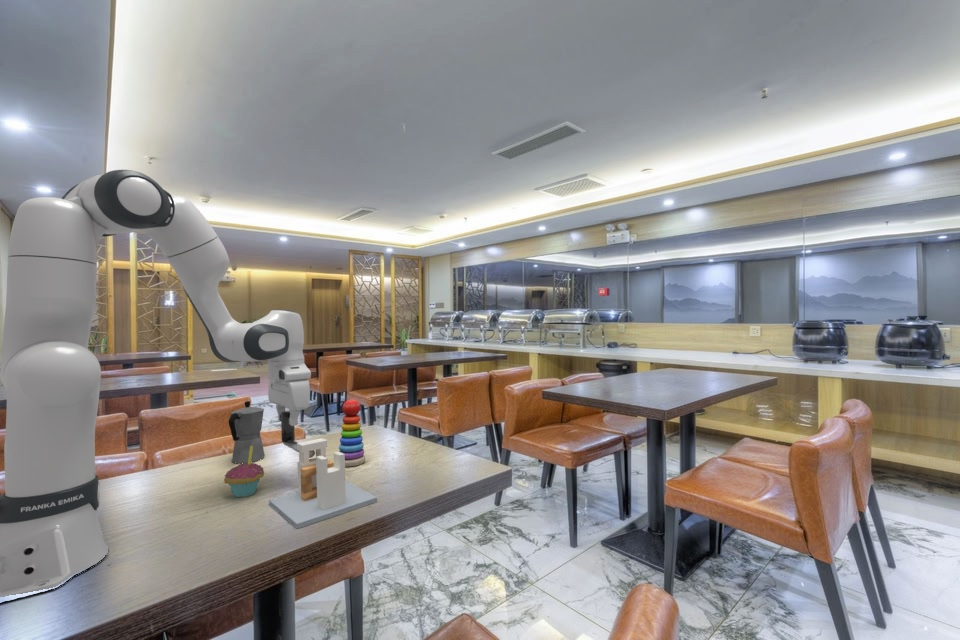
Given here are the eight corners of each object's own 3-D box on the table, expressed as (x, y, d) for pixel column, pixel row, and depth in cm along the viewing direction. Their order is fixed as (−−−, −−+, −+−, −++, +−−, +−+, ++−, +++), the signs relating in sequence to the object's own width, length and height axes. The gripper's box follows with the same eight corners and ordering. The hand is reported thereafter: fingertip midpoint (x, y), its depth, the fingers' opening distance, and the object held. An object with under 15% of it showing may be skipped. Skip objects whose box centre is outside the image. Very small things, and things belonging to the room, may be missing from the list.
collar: (304, 501, 97) (303, 470, 97) (301, 498, 99) (300, 468, 99) (334, 492, 102) (333, 462, 102) (330, 490, 103) (329, 460, 104)
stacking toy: (357, 468, 122) (355, 402, 122) (331, 467, 124) (330, 401, 124) (370, 459, 130) (368, 397, 130) (345, 458, 131) (344, 397, 132)
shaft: (304, 459, 102) (303, 421, 102) (279, 446, 114) (279, 412, 114) (317, 456, 104) (316, 419, 104) (292, 443, 116) (291, 410, 116)
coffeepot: (246, 453, 140) (245, 397, 140) (274, 452, 139) (273, 397, 140) (215, 469, 124) (213, 407, 125) (246, 468, 124) (245, 406, 124)
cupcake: (253, 484, 111) (252, 438, 111) (271, 491, 106) (270, 442, 106) (218, 495, 104) (217, 446, 104) (235, 503, 99) (234, 451, 99)
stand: (297, 528, 86) (295, 463, 86) (269, 504, 98) (267, 447, 98) (377, 501, 98) (375, 444, 98) (343, 483, 111) (342, 432, 111)
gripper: (261, 369, 120) (262, 419, 119) (288, 374, 105) (289, 431, 105) (285, 367, 124) (286, 415, 124) (313, 372, 109) (315, 426, 109)
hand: (287, 422), depth 114 cm, fingers open, 6 cm apart
